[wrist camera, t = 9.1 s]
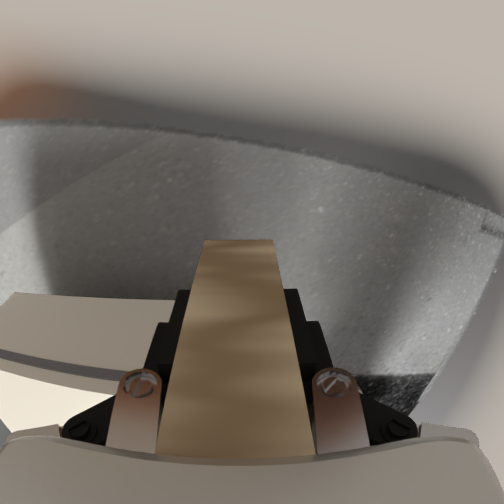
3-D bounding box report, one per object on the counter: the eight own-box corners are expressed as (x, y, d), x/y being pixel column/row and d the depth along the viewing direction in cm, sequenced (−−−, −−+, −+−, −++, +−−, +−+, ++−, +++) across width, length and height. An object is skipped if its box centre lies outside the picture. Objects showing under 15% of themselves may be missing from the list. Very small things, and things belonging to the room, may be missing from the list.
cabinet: (216, 269, 28) (196, 401, 15) (224, 376, 34) (218, 492, 21) (38, 267, 28) (-43, 353, 14) (74, 363, 34) (30, 453, 20)
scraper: (272, 239, 14) (323, 499, 4) (262, 446, 22) (270, 568, 12) (204, 240, 14) (146, 497, 4) (225, 447, 21) (223, 568, 12)
